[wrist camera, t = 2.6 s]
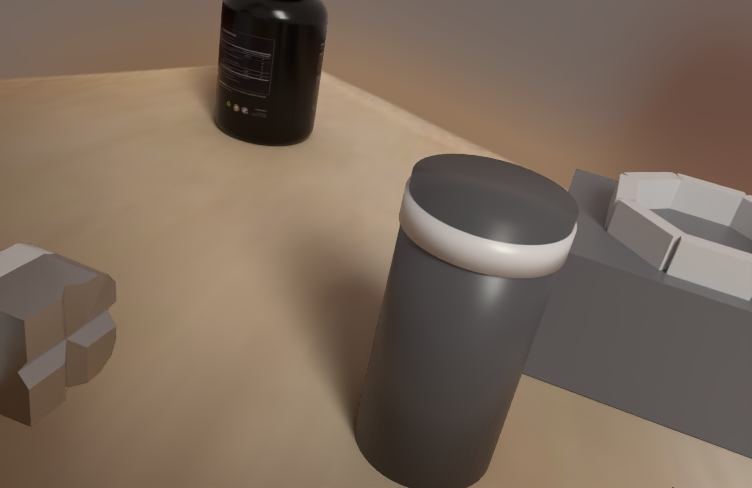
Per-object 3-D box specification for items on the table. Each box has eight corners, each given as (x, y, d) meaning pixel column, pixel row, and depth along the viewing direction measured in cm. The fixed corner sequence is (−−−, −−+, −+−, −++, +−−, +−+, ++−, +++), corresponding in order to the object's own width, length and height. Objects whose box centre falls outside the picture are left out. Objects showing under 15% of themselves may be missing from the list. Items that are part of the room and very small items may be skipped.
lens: (328, 456, 24) (384, 190, 19) (380, 372, 29) (436, 139, 24) (475, 518, 23) (572, 251, 18) (506, 421, 27) (590, 186, 23)
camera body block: (507, 367, 30) (561, 211, 27) (541, 269, 39) (585, 140, 35) (805, 477, 28) (908, 320, 24) (771, 345, 36) (844, 215, 33)
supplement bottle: (252, 105, 54) (270, -65, 48) (329, 133, 51) (358, -42, 46) (191, 124, 48) (204, -66, 42) (275, 157, 46) (300, -40, 40)
